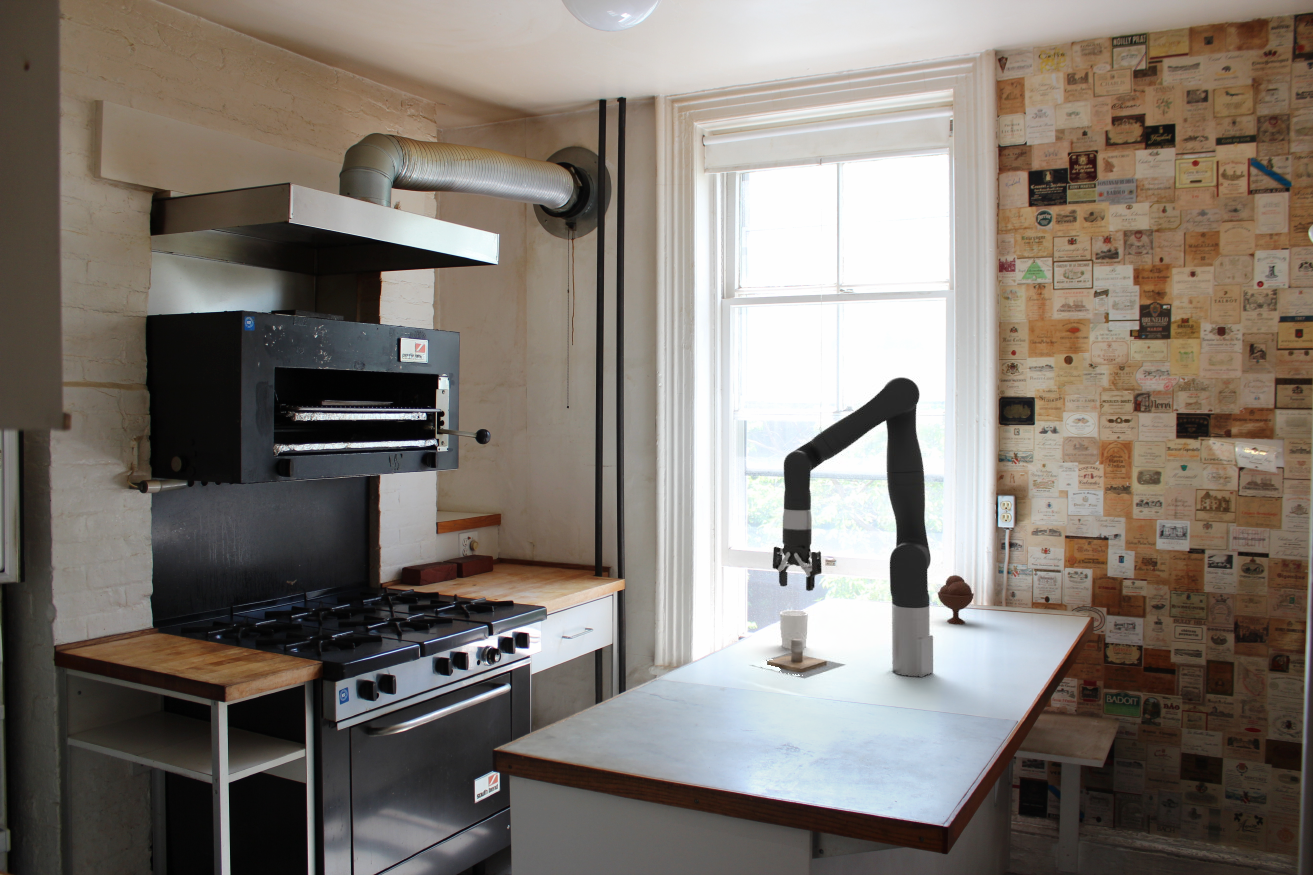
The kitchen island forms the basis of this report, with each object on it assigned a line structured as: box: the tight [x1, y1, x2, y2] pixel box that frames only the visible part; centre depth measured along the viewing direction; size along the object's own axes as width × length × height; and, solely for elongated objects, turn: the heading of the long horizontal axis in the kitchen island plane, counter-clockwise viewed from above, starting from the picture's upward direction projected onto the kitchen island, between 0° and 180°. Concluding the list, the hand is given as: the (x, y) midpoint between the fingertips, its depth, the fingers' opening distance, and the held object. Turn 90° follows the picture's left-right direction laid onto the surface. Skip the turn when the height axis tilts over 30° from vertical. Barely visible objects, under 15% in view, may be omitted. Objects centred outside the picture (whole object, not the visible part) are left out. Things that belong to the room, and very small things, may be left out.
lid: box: [767, 639, 828, 673], centre depth 232 cm, size 11×11×6 cm
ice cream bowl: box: [937, 574, 975, 625], centre depth 284 cm, size 11×11×15 cm
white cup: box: [779, 609, 809, 650], centre depth 252 cm, size 8×8×10 cm
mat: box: [765, 652, 846, 679], centre depth 232 cm, size 18×18×1 cm
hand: (796, 588), depth 232 cm, fingers open, 8 cm apart
